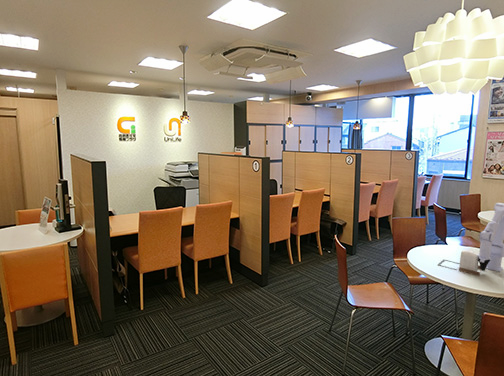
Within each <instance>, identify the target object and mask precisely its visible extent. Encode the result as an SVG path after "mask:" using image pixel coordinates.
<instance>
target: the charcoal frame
mask: <svg viewBox="0 0 504 376" xmlns="http://www.w3.org/2000/svg"><path fill="white" fill-rule="evenodd" d="M445 261H446V262H449V263H450V262H451V263H454V264H457V265H460V262H455V261H451V260H449V259H448V260H447V259H442V260H441V261H440V262H439V263H438V264H437V266H439V267H442V268H446V269H447V268H448V269H450V270H455V271H458V269H457V268H453V267H448V266H445V265H441V264H442V263H444V262H445Z"/></svg>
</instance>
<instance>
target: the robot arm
mask: <svg viewBox="0 0 504 376" xmlns="http://www.w3.org/2000/svg"><path fill="white" fill-rule="evenodd" d="M493 209H494V214H493V216H492V219H491V221H489V222H488V223H487V224H486V226H485V228H484V230H483V231H481V232H480V233H479V242H480V246H479V254H478V257H479V259H478V261H479V262H478V264H479V266H480V269H479V270H480V271H483V272H485V271H486V270H491V271H496V272H499V273H500V272H501V271H502V270H503V267H502V260H503V258H504V203H503V202H502V203H501V202H495V204H494V207H493Z"/></svg>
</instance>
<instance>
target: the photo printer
mask: <svg viewBox="0 0 504 376" xmlns="http://www.w3.org/2000/svg"><path fill="white" fill-rule="evenodd" d="M478 255H479V254H478V253H475V252H474V251H471V250H462V251H461V252H460V256H459V257H460V258H459V263H460V264H458V265H459V267H461V268H465V269H469V270H473V271H477V272H478V270H479V269H478V265H479V261H478V259H479V257H478ZM459 267H458V268H459Z"/></svg>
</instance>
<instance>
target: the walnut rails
mask: <svg viewBox="0 0 504 376" xmlns="http://www.w3.org/2000/svg"><path fill="white" fill-rule="evenodd" d="M478 270H481V269H480V264H478V269H477V271H473V270H469V269H465V268H461V267H458V271H459V272H462V273H466V274H470V275H474V276H478V277H479V276H481V275H480V274H481V272H480V271H478Z"/></svg>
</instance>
